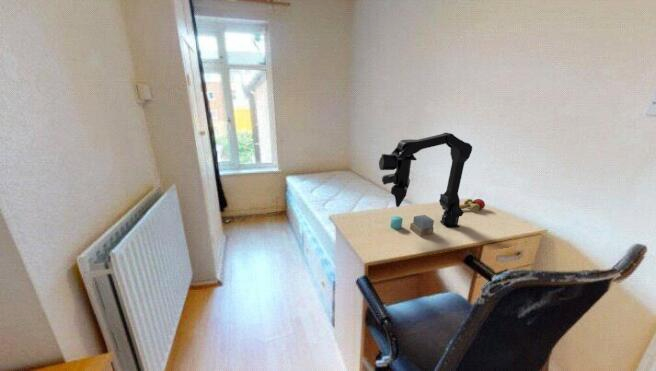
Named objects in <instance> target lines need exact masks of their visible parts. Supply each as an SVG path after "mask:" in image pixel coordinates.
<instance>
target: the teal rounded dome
mask: <svg viewBox="0 0 656 371" xmlns="http://www.w3.org/2000/svg"><path fill="white" fill-rule="evenodd" d="M402 226H403V217H401V216H398V215H393V216H391V219H390V228H391V229H393V230H397V231H399V230H402Z"/></svg>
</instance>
